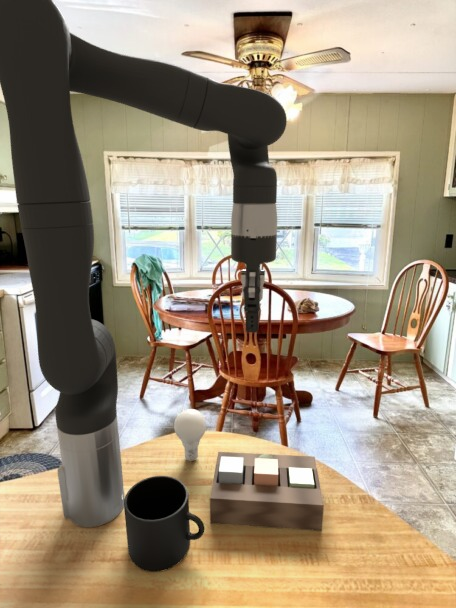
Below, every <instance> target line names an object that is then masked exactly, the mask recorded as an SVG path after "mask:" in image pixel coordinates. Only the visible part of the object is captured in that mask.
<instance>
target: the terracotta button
mask: <svg viewBox="0 0 456 608" xmlns="http://www.w3.org/2000/svg"><path fill="white" fill-rule="evenodd" d="M254 485H262V486H278V459H263V458H255V469H254Z"/></svg>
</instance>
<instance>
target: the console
mask: <svg viewBox="0 0 456 608" xmlns="http://www.w3.org/2000/svg"><path fill="white" fill-rule="evenodd" d="M221 456H224V457H243V458H244V479H243V484H227V483H219V467H220V461H221ZM255 458H263V459H278V486H262V485H254V469H255ZM289 467H292V468H311V469H312V473H313V479H314V488H297V487H288V475H289ZM214 468H215V469H214V472H213V473H214V474H213V479H212V484H211V489H210V490H211V492H210V496H209V510H210V511H209V514H210V516H209V517H210V518H209V519H210V520H209V521H210V525H211V524H212V525H224V526H225V525H226V526H227V525H228V526H241V527H242V526H243V527H257V528H258V527H259V528H270V529H271V528H272V529H284V530H285V529H288V530H301V531H317V532H318V531H319V532H322V531H323V521H324V518H323V517H324V505H325V504H324V498H323V493H322V489H321V482H320V478H319V477H320V476H319V474H318V473H319V472H318V467H317V462H316V457H315V456H313V455H311V456H308V455H306V456H305V455H293V454H292V455H288V454H272V453H271V454H268V453H251V452H250V453H249V452H248V453H247V452H234V451H233V452H229V451H217V456H216V462H215V466H214Z"/></svg>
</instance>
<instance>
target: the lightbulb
mask: <svg viewBox="0 0 456 608" xmlns="http://www.w3.org/2000/svg"><path fill="white" fill-rule="evenodd" d="M173 429H174V432H175V435H176V436H177V437H178V439H179V440H180V441H181V443H182V446H183V450H184V459H185V460H186V461H188V462H190V461H191V462H192V461H196V460H197V459H198V457H199V452H198V451H199V445H200V442H201V439H202V437H203V436H205V433H206V429H207V420H206V417H205V416H204V414H203V413H202V412H200V411H199V410H197V409H194V408H187V409H184V410H181V411H180V412H179V414H177V416H176V417H175V420H174V423H173Z"/></svg>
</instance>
